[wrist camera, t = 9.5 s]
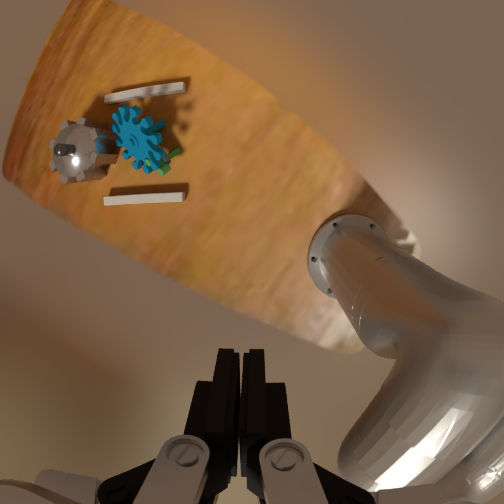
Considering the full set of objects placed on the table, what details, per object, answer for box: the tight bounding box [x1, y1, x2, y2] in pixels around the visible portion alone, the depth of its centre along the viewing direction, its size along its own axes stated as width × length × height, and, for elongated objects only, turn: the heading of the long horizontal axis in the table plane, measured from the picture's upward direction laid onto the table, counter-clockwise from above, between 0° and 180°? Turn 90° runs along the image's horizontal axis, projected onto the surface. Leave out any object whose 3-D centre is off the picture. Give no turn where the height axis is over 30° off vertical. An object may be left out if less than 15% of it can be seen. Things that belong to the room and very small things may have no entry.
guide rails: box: [104, 82, 186, 205], centre depth 34 cm, size 12×16×2 cm
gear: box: [111, 105, 180, 176], centre depth 32 cm, size 11×6×10 cm
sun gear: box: [49, 117, 118, 184], centre depth 31 cm, size 9×9×9 cm
